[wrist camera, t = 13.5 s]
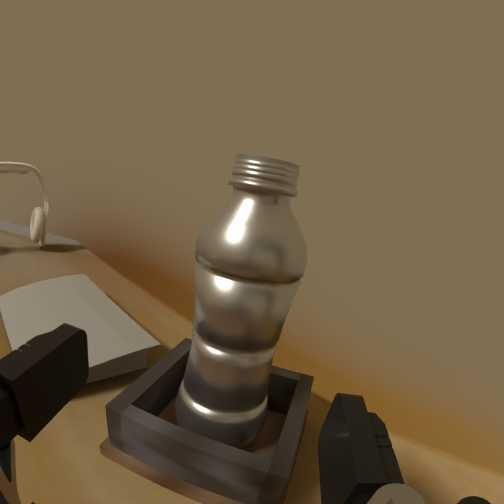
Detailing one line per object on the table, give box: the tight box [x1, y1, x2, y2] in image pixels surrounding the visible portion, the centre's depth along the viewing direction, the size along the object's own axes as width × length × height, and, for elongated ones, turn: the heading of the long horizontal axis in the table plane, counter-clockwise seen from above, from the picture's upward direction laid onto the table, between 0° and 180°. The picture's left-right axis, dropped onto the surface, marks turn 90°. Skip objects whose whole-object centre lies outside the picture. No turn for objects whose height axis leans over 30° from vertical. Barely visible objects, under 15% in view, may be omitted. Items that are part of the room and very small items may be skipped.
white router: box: [0, 274, 161, 384], centre depth 32 cm, size 15×23×4 cm, turn 49°
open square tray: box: [100, 338, 314, 504], centre depth 22 cm, size 13×13×5 cm
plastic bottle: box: [175, 154, 307, 449], centre depth 20 cm, size 6×7×20 cm
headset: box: [0, 162, 49, 246], centre depth 50 cm, size 20×7×18 cm, turn 137°
